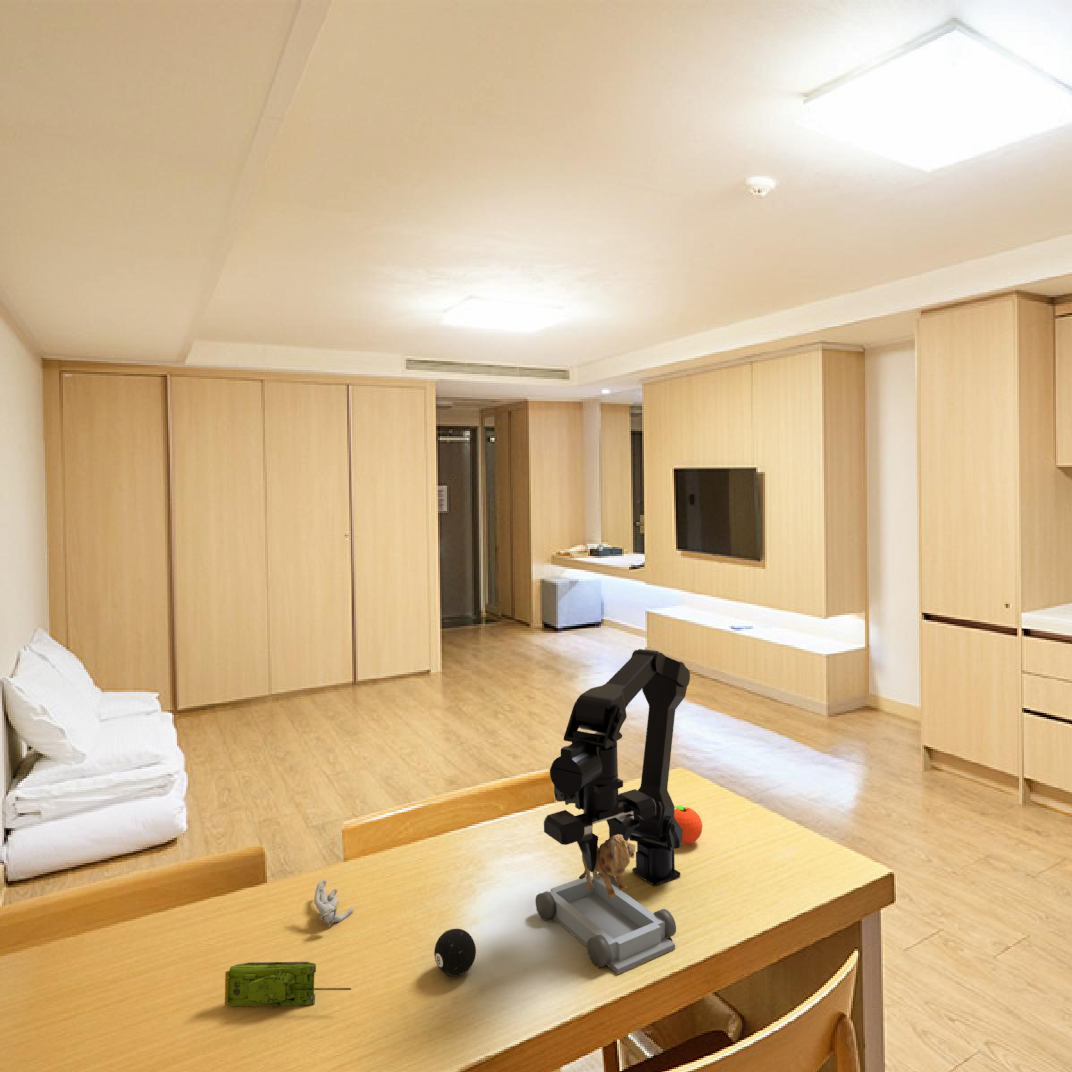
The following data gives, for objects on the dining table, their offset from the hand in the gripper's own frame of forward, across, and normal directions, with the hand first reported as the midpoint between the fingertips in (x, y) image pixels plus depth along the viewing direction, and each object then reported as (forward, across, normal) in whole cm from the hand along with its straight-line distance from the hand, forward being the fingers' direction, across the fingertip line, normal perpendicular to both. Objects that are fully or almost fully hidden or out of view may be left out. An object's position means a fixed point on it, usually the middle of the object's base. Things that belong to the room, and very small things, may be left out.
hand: (602, 866), depth 121 cm
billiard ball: (+10, +25, -3) cm, 27 cm away
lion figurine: (+3, -1, +1) cm, 4 cm away
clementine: (+10, -31, -15) cm, 36 cm away
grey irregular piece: (+10, +37, -29) cm, 48 cm away
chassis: (+10, 0, 0) cm, 10 cm away
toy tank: (+10, +48, -8) cm, 50 cm away
